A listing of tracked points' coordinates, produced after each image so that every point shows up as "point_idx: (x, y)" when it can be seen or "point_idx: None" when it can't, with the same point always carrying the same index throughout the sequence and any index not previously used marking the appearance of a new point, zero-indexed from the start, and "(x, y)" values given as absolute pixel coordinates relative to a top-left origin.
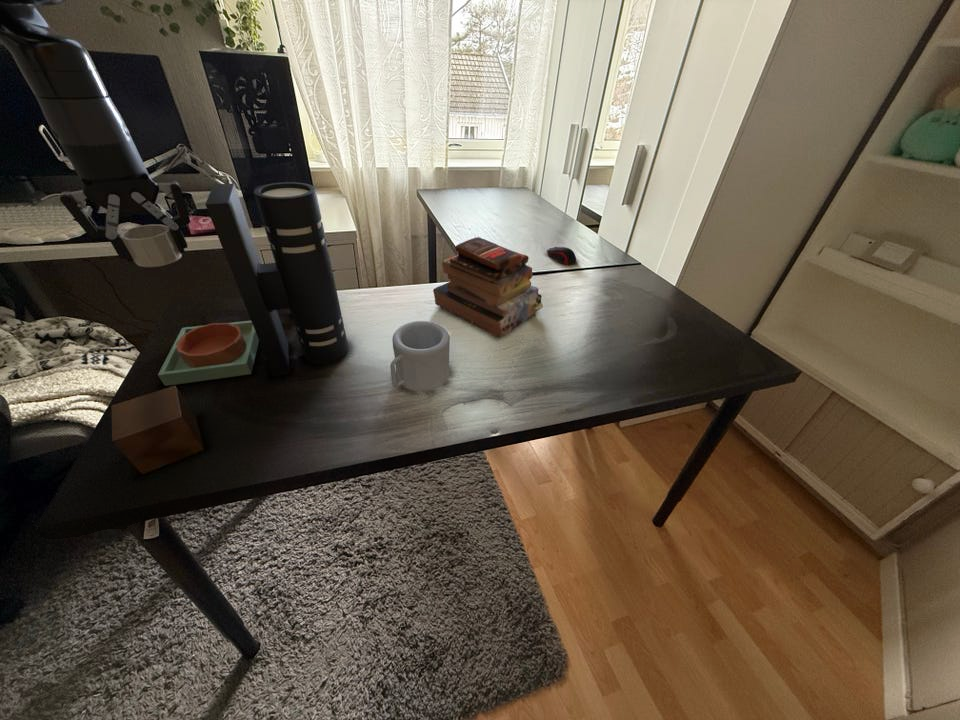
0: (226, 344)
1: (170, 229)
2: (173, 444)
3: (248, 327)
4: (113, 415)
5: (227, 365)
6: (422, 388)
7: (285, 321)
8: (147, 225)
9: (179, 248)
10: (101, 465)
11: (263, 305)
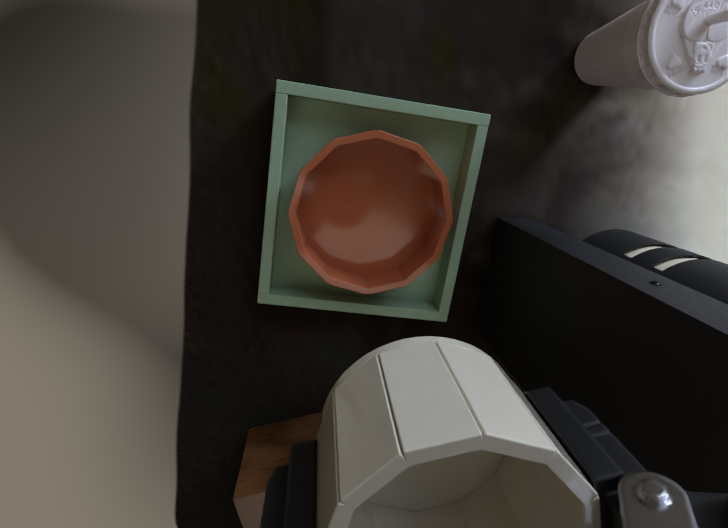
0: (394, 191)
1: (602, 524)
2: None
3: (454, 122)
4: (245, 526)
5: (406, 316)
6: None
7: (545, 88)
8: (467, 450)
9: None
10: (205, 464)
11: None
